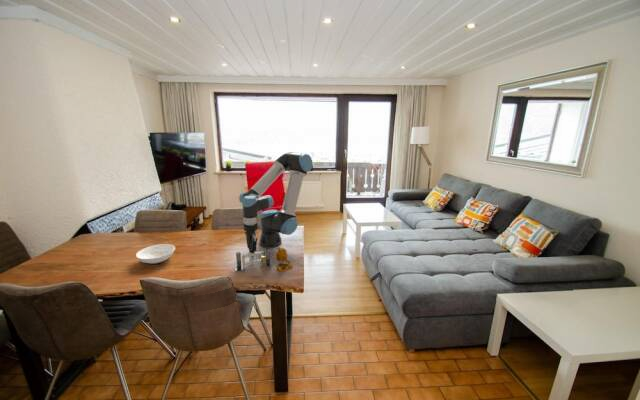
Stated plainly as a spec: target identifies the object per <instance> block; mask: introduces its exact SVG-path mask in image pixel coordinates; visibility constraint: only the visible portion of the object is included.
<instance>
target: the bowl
mask: <svg viewBox="0 0 640 400" xmlns="http://www.w3.org/2000/svg"><path fill="white" fill-rule="evenodd" d="M175 250H176V246H175V245H173V244H171V243H160V244H155V245H149V246H148V247H144V248H142V249H140V250H139V251H137V252H136V254H135V257H136V258H137V259H138V260H139V261H140V262H142V263H147V264H159V263H163V262H164V261H166V260H168V259H169V258H170V257H172V256H173V254H174V251H175Z"/></svg>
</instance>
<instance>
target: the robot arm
mask: <svg viewBox="0 0 640 400" xmlns="http://www.w3.org/2000/svg"><path fill="white" fill-rule="evenodd" d="M312 168H313V160H312V157H311V155H309V153H304V152H293V151H291V152H290V151H289V152H285V153H284V154H282V155H280V156H279V157H278V158H277V159H276V160H274V162H273V164H272V166H271V167H269V169H268V170H266V172H265V173H264V174H263V175H262V176H261V177H260V178H259V179H258V181H256V182H255V184H254V185H252V187H251V188H250V189H249V190H247V191H246V192H245V191H243V192H242V193H240V194H239V196H238V199H239V202H240V203H241V206H242V217H243V218H242V221H243V231H244V234H245V238H246V239H245V240H246V245H247V246H246V247H247V249H248V254H251V253H256V252H257V247H258V245H257V244H259V245H260V246H261V247H263V248H264V247H265V248H273V247H277V246H278V247H279V245H281V244H282V237H281V234H282V235H285V236H291V235H292V234H293V233H294V232H296V230H297V228H298V224H299V222H298V219H297V215H296V211H295V210H296V209H297V204H298V200H299V196H300V192H301V187H302V184H303V180H304V177H306V176H307V175H308V172H311V170H312ZM288 170H289V174H290V176H289V180H288V182H287V187H286V191H285V194H284V199H283V203H282V206H281V209H280V210H277V209H271V208H272V207H273V206H274V204H275V201H274V198H273V197H272V196H271V195H269V194H268V195H266V194H265V195H263V194H264V193H265V192H266V191H267V190H268V188H269V187H270V186H272V184H273V183H274V182H275V181H276V180H277V179H278V178H279V176H280V175H282V174H284V173H285V172H286V171H288ZM263 210H264V211H263ZM260 211H261V212H260ZM258 212H260V231H261V232H260V237H259V238H258V237H256V236H257V235H256V234H257V233H256V232H257V230H258V229H259V228H258V227H259V226H258V225H259V224H258ZM255 260H256V256H251V261H255Z"/></svg>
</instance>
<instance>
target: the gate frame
mask: <svg viewBox="0 0 640 400" xmlns="http://www.w3.org/2000/svg"><path fill="white" fill-rule="evenodd" d="M235 257H236V266H235V269H234V272H235V273H239V272H244V270H245V267H243V265H242V254H241V252H240V251H239V252H238V251H237V252H236V253H235ZM260 259H261V262H260V263H261V264H260V265H261V269H266V268H270V267H271V250H270V249H268V248H267V249H265V255H264V256H261V255H260Z"/></svg>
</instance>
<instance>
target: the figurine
mask: <svg viewBox="0 0 640 400" xmlns="http://www.w3.org/2000/svg"><path fill="white" fill-rule="evenodd" d="M275 251H276V253H275V255H273V256H272V258H276V261H277V262H278V264H277V265H276V271H277V272H286V271H289V270H292V269H293V265H292V264H290V263H291V260H289V259H288V252H287V250H286V249H285V248H283V247H279V246H278V247H277V248H274V249H273V252H275ZM285 262H287V263H285Z"/></svg>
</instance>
